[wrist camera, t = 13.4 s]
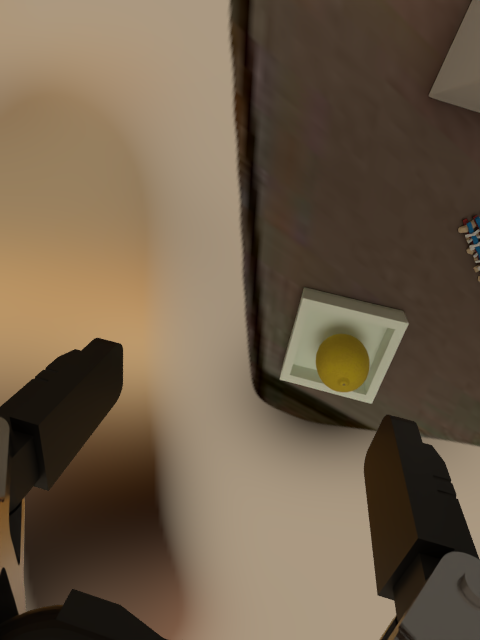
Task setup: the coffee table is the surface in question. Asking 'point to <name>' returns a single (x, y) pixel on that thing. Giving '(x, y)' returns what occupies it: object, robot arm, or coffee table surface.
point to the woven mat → (472, 239)
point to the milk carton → (462, 65)
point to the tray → (342, 318)
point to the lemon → (342, 363)
